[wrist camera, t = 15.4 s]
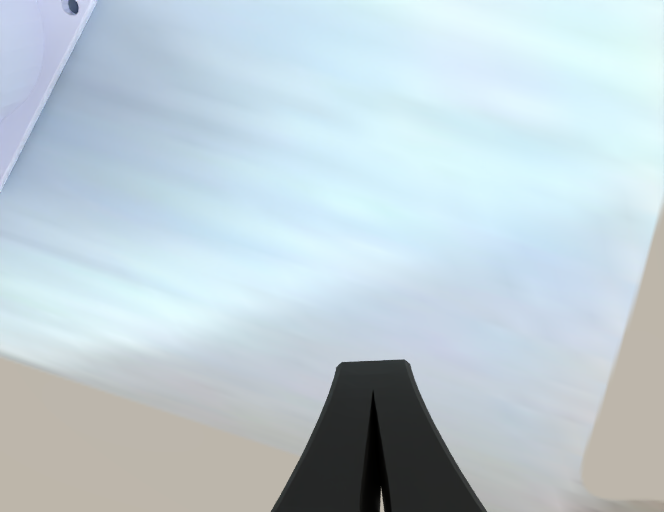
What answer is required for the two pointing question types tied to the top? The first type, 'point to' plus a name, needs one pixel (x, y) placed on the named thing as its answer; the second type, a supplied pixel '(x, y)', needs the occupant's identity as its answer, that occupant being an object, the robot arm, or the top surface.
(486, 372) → the top surface
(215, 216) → the top surface
